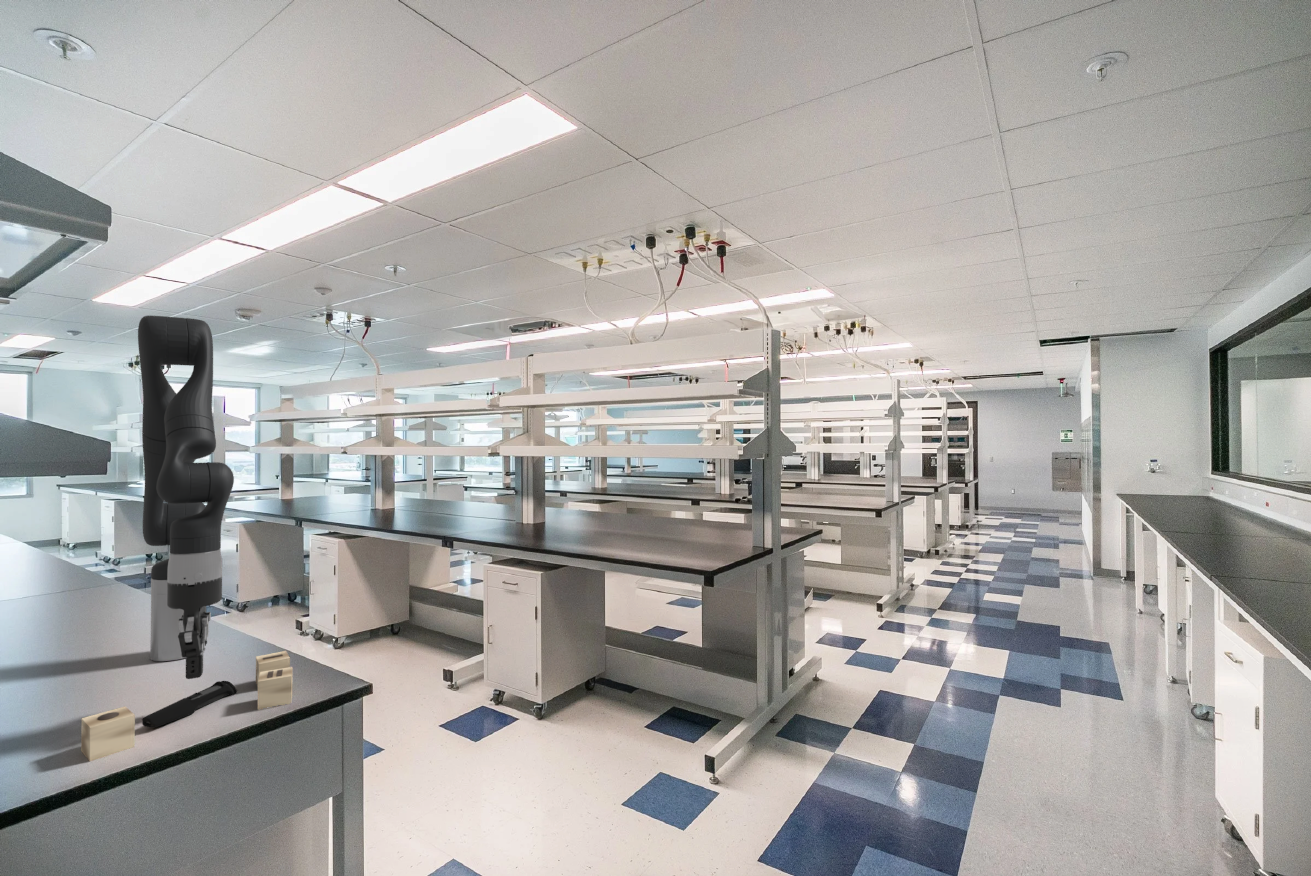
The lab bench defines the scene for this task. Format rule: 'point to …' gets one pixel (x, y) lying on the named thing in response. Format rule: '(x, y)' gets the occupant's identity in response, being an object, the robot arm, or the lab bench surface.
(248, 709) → the lab bench surface
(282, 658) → the maple block
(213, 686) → the electric trimmer
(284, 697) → the maple block
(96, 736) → the maple block
